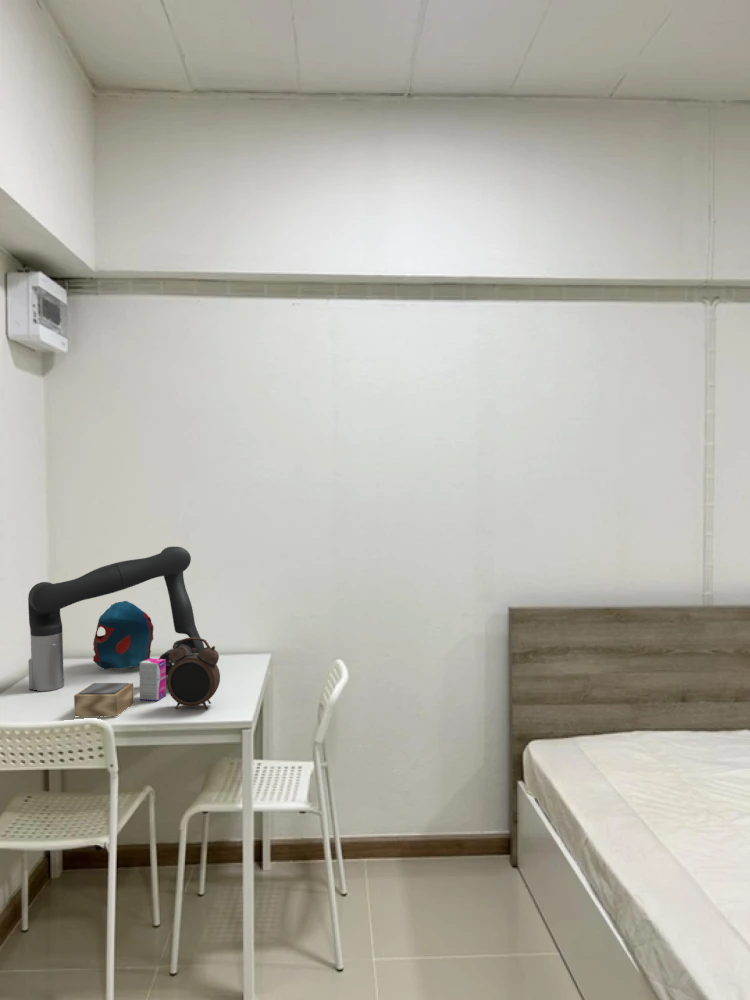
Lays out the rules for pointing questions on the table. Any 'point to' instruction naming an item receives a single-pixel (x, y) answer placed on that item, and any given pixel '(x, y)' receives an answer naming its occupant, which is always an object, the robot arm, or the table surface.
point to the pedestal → (104, 699)
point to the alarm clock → (193, 674)
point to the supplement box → (152, 679)
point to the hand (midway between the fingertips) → (156, 673)
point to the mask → (123, 637)
